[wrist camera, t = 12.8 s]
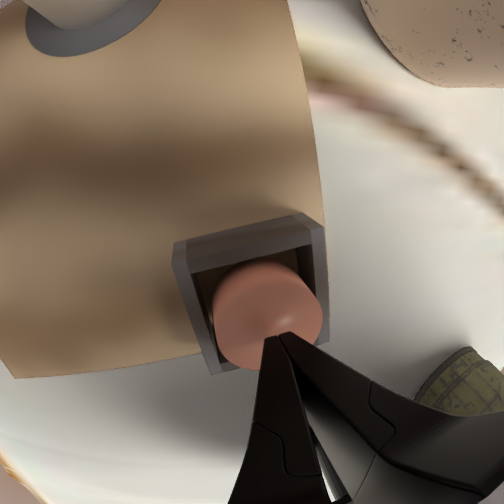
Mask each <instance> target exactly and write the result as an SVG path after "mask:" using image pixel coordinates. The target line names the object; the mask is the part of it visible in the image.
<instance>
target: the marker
mask: <svg viewBox="0 0 504 504" xmlns="http://www.w3.org/2000/svg"><path fill="white" fill-rule="evenodd" d="M22 1H24V2H25V3H26V4H28V5H29V6H30V7H32V8H33V9H34V10H36V11H37V12H38V13H40V14H41V15H42V16H44V17H45V18H46V19H47V20H49V21H50V22H51V23H53V24H54V25H55V26H57V27H59V28H61V29H65V30H77V29H83V28H87V27H90V26H93V25H95V24H97V23H99V22H101V21H103V20H105V19H107V18H109V17H110V16H112V15H113V14H114V13H116V12H117V11H118V10H120V9H121V8H122V7H123V6H124V5H125V4H126V3H127V2H128V1H129V0H22Z"/></svg>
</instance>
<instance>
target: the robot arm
mask: <svg viewBox="0 0 504 504" xmlns="http://www.w3.org/2000/svg"><path fill="white" fill-rule="evenodd" d="M252 421H253V422H252V424H251V430H250V436H249V441H248V445H247V450H246V453H245V456H244V460H243V463H242V466H241V469H240V472H239V474H238V477H237V480H236V483H235V485H234V488H233V491H232V494H231V496H230V499H229V501H228V504H504V410H503V411H498V412H492V413H486V414H480V415H473V416H457V415H452V414H448V413H445V412H442V411H439V410H437V409H434V408H431V407H429V406H426V405H423V404H421V403H418V402H416V401H413V400H411V399H408V398H406V397H404V396H401V395H399V394H397V393H395V392H393V391H391V390H389V389H387V388H385V387H383V386H382V385H380V384H378V383H376V382H375V381H371V379H369V378H367V377H366V376H364V375H362V374H361V373H359V372H357V371H355V370H354V369H352V368H350V367H349V366H347V365H345V364H344V363H342V362H340V361H339V360H337V359H335V358H334V357H332V356H330V355H329V354H327V353H325V352H324V351H322V350H320V349H319V348H317V347H316V346H314V345H312V344H311V343H309V342H308V341H306V340H304V339H303V338H301V337H300V336H298V335H296V334H295V333H293V332H291V331H287V332H284V333H281V334H279V335H278V336H277V335H274V336H270V337H266V338H265V339H264V344H263V351H262V358H261V365H260V372H259V379H258V386H257V392H256V399H255V406H254V412H253V419H252ZM308 422H309V423H310V425H311V427H309V423H308ZM321 469H322V471H323V473H324V476H325V478H326V480H327V482H328V485H329V487H330V489H331V491H332V494H333V496H334V498H335V500H336V501H334V502H331V500H330V498H329V495H328V492H327V489H326V486H325V482H324V479H323V477H322V471H321Z"/></svg>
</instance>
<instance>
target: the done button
mask: <svg viewBox="0 0 504 504" xmlns="http://www.w3.org/2000/svg"><path fill="white" fill-rule="evenodd" d="M211 309H212V315H213V321H214V327H215V333H216V339H217V343H218V347H219V349H220V351H221V353H222V354H223V355H224V357H225V358H226V359H227V360H229V361H230V362H231V363H233V364H235V365H236V366H239V367H241V368H244V369H249V370H258V371H260V365H261V358H262V351H263V344H264V339H265V338H266V337H270V336H274V335H277V336H278V335H279V334H281V333H284V332H287V331H291V332H293V333H295V334H296V335H298V336H300V337H301V338H303V339H304V340H306V341H308V342H309V343H311V344H312V345H313V344H314V342H315V341H316V339H317V337H318V335H319V333H320V330H321V327H322V322H323V314H322V309H321V306H320V304H319V302H318V300H317V299H316V297H315V296H314V295H313V293H312V292H311V291H310V290H309V288H308V287H307V286H306V284H305V283H304V282H303V280H302V279H301V278H300V277H299V275H298V274H297V273H296V271H295V270H294V269H293V268H292V267H291V266H290V265H288V264H287V263H285V262H283V261H281V260H278V259H275V258H270V257H257V258H253V259H249V260H245V261H241V262H239V263H237V264H235V265H234V266H232V267H231V268H229V269H228V270H227V271H226V272H225V273H224V274H223V275H222V276H221V277H220V278H219V280H218V281H217V283H216V285H215V287H214V289H213V292H212V296H211Z"/></svg>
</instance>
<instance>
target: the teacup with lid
mask: <svg viewBox="0 0 504 504" xmlns="http://www.w3.org/2000/svg"><path fill="white" fill-rule="evenodd" d="M360 1H361V4H362V6H363V9H364V11H365V13H366V15H367V17H368V19H369V21H370V23H371V25H372V26H373V28H374V30H375V31H376V33H377V34H378V36H379V37H380V39H381V40H382V42H383V43H384V44H385V45H386V47H387V48H388V49H389V50H390V52H391V53H392V54H393V55H394V56H395V57H396V58H397V59H398V60H399V61H400V62H401V63H402V64H403V65H404V66H405V67H406V68H407V69H409V70H410V71H411V72H412V73H413V74H415V75H416V76H418V77H419V78H421V79H422V80H424V81H426V82H428V83H430V84H433V85H435V86H439V87H444V88H462V87H486V88H504V0H360Z"/></svg>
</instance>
